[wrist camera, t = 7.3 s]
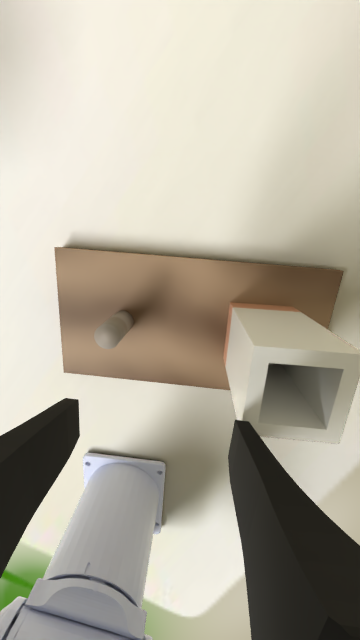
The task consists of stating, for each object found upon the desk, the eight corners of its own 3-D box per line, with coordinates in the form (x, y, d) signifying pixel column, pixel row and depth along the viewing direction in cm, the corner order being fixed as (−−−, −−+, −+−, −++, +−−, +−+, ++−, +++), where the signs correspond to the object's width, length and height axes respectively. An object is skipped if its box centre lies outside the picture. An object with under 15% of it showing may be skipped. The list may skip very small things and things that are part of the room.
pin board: (303, 391, 20) (332, 430, 16) (69, 366, 21) (37, 397, 17) (335, 269, 17) (380, 277, 13) (61, 247, 18) (19, 247, 14)
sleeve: (292, 306, 17) (366, 354, 10) (281, 362, 19) (338, 443, 11) (230, 302, 18) (254, 345, 10) (223, 357, 19) (240, 434, 11)
